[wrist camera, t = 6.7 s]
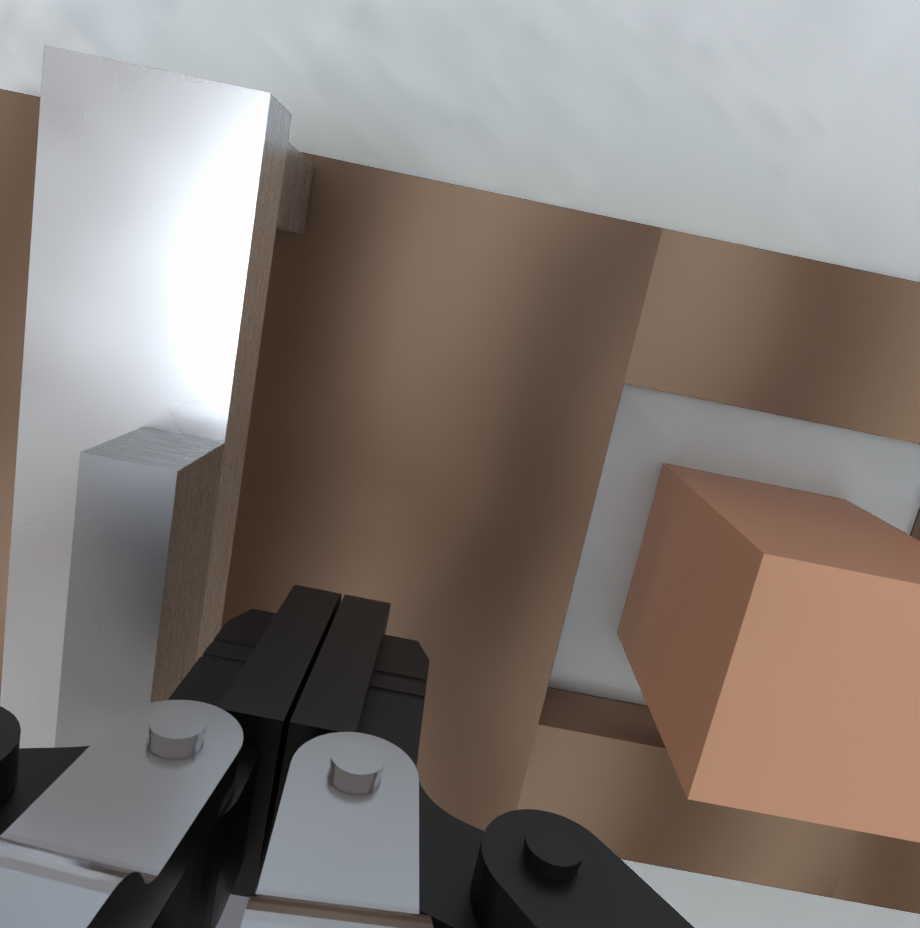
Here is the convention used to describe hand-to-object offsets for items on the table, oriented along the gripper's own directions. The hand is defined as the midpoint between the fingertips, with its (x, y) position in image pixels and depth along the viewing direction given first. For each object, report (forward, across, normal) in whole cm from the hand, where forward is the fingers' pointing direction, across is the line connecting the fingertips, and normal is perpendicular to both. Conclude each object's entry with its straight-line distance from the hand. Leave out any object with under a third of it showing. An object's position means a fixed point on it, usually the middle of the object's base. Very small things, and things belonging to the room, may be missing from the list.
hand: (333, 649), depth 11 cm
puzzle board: (+9, -3, 0) cm, 9 cm away
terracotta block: (+9, -9, 0) cm, 13 cm away
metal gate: (+7, +4, 0) cm, 7 cm away
